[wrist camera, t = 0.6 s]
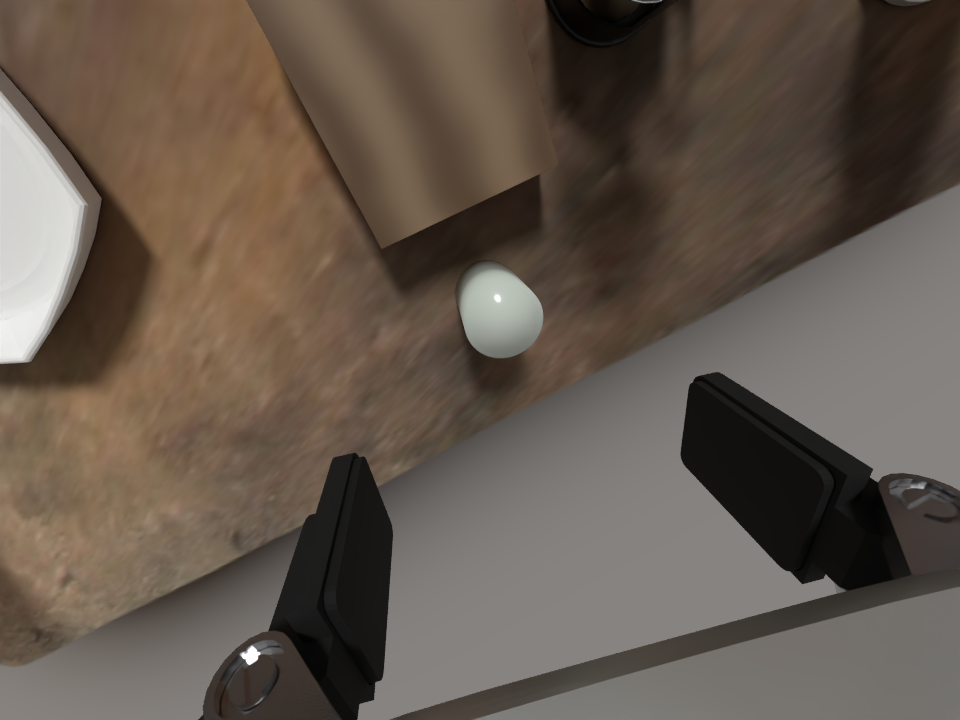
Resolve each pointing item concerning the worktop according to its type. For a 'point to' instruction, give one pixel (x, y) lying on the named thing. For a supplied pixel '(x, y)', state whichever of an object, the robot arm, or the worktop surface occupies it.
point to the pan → (38, 226)
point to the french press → (598, 31)
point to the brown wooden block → (415, 101)
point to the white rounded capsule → (497, 310)
